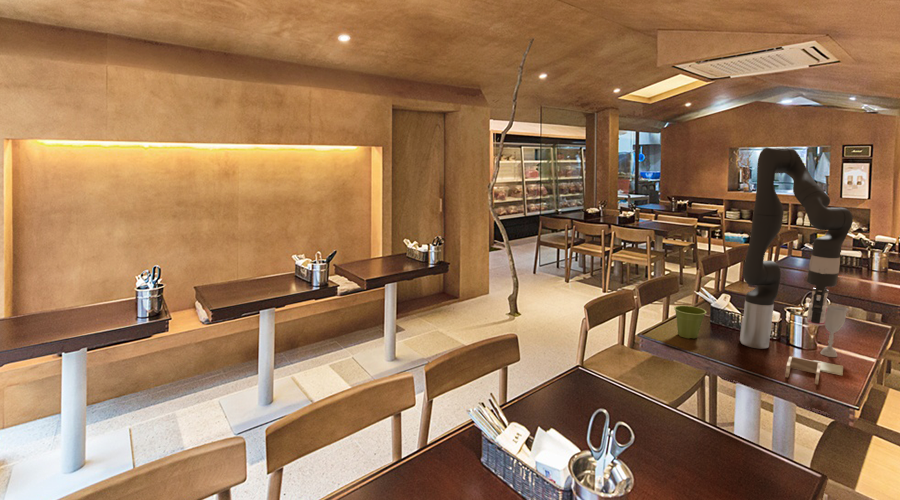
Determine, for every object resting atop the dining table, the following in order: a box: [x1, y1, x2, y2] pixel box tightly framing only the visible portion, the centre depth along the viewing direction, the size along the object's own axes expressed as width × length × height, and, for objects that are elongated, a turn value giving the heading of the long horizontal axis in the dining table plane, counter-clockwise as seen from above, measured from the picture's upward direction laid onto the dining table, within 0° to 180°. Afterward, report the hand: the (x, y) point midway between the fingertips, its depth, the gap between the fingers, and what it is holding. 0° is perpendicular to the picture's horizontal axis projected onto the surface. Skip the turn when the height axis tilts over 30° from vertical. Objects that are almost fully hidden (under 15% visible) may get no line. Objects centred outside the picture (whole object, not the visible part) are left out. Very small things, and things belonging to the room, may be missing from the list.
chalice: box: [819, 304, 850, 358], centre depth 170 cm, size 7×7×18 cm
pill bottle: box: [806, 298, 828, 326], centre depth 152 cm, size 5×5×8 cm
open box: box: [784, 355, 822, 385], centre depth 155 cm, size 10×9×4 cm
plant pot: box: [673, 305, 707, 339], centre depth 191 cm, size 12×12×11 cm
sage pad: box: [813, 359, 844, 377], centre depth 160 cm, size 8×8×1 cm
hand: (816, 320), depth 152 cm, fingers closed on pill bottle, 4 cm apart
